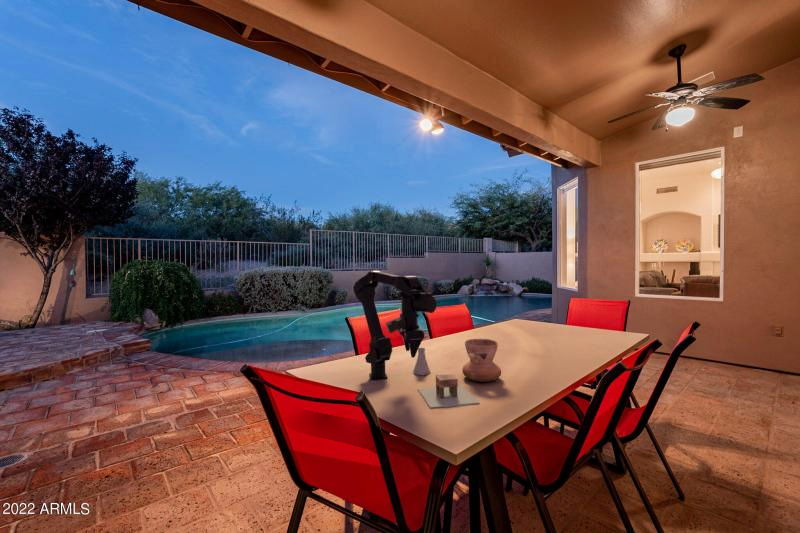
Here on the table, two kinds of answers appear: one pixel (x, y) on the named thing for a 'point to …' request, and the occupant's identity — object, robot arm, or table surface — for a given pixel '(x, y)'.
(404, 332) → the robot arm
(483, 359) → the ceramic jug
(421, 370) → the flask
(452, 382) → the walnut stool
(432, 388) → the sage mat
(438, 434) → the table surface
